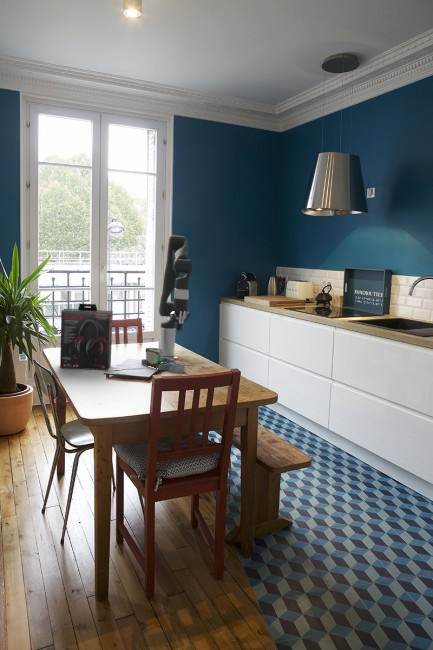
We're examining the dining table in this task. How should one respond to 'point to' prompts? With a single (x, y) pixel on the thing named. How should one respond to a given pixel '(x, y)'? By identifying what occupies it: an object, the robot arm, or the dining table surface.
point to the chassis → (169, 365)
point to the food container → (153, 357)
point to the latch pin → (177, 360)
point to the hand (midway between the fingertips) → (179, 330)
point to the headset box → (86, 338)
